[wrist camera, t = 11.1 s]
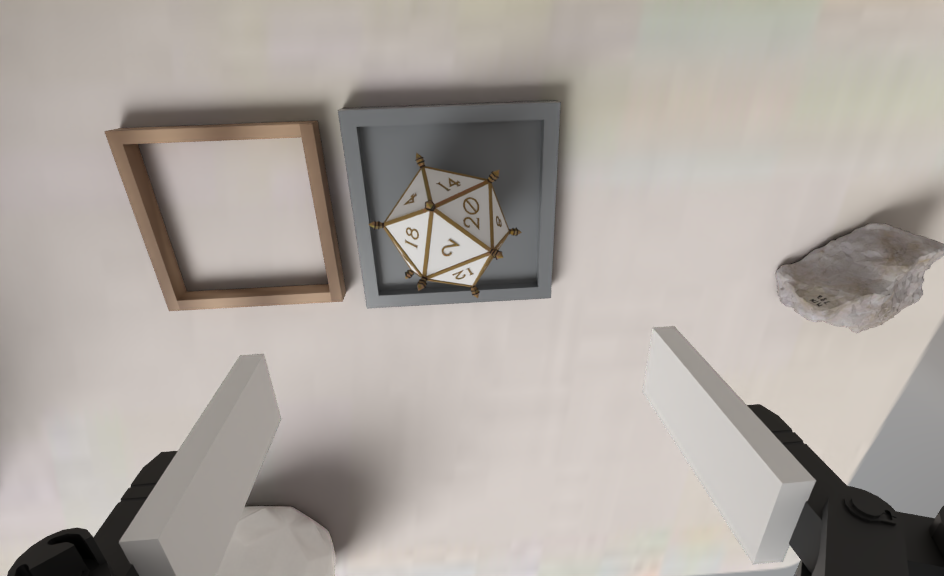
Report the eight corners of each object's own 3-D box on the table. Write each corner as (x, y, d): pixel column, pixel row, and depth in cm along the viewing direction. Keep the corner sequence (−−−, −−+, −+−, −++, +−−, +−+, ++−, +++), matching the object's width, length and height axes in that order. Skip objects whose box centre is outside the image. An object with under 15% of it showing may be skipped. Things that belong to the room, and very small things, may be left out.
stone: (771, 331, 41) (820, 371, 35) (767, 249, 37) (821, 280, 32) (887, 296, 40) (955, 332, 35) (894, 209, 36) (971, 234, 31)
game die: (427, 179, 36) (379, 111, 26) (535, 202, 34) (527, 139, 24) (393, 290, 35) (330, 263, 25) (502, 320, 33) (480, 304, 23)
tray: (369, 299, 37) (366, 308, 35) (342, 108, 30) (337, 110, 29) (546, 289, 37) (550, 298, 36) (555, 100, 31) (560, 102, 30)
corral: (179, 301, 36) (169, 311, 34) (119, 128, 30) (104, 131, 29) (346, 292, 36) (342, 301, 35) (317, 120, 31) (312, 123, 29)
